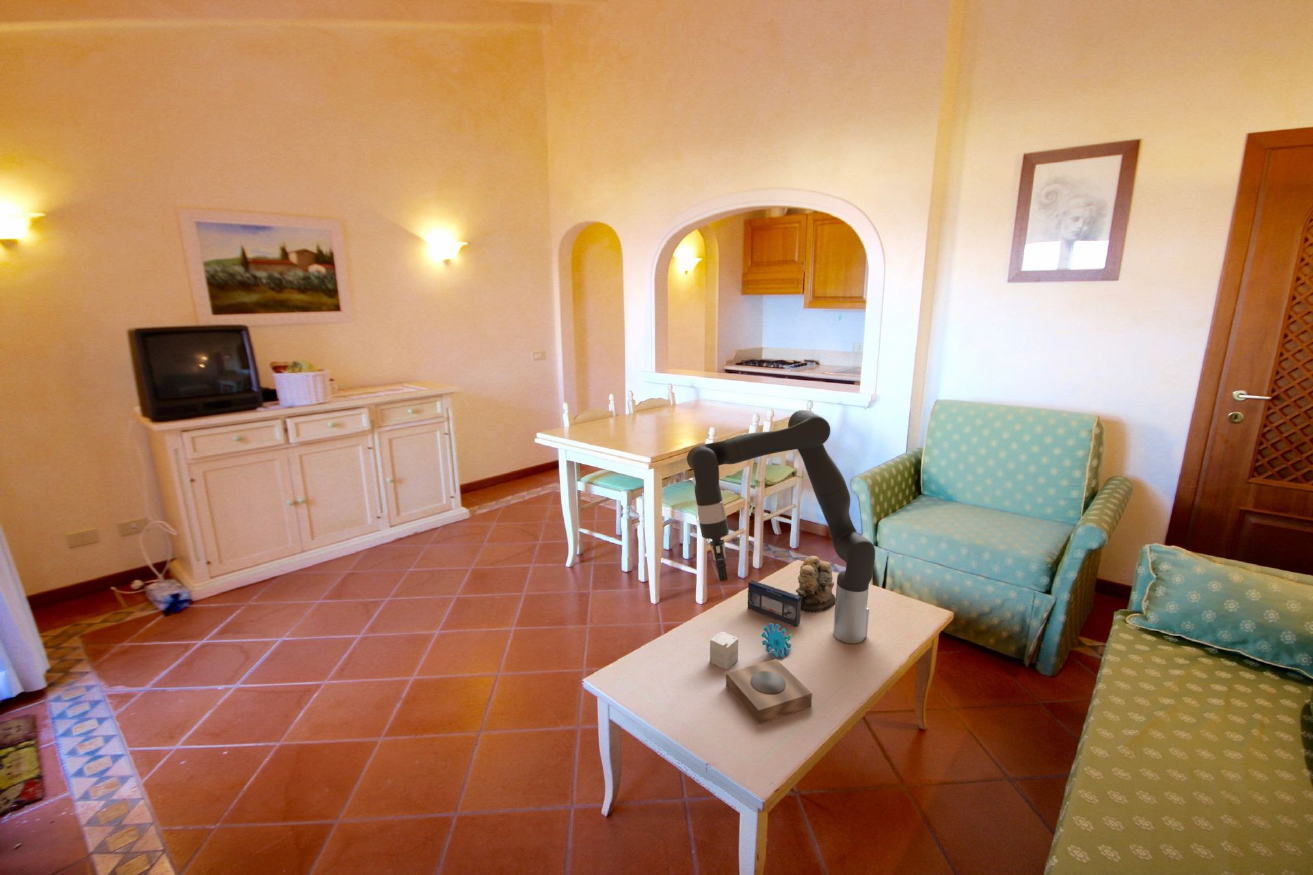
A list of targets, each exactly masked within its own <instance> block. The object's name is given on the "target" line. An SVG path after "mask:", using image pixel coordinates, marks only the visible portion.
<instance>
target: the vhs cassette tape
mask: <svg viewBox="0 0 1313 875" xmlns="http://www.w3.org/2000/svg"><path fill="white" fill-rule="evenodd" d="M747 588H748V589H747V610H750V611H752V612H755V613H757V614H760V615H763V616H766V617H768V618H771V619H773V620H775V621H779V622H781V623H784V624H786V625H789V626H792V627H795V628H797V627H798V626H799V625H800V624H801V611H802V610H801V603H800V602H801V596H797V595H798V594H795V593H792V592H788V591H786V590H783V589H780V588H775V587H773V586H770V585H767V584H765V583H762V582H758V581H756V580H752V579H751V580H749V581H748V583H747Z"/></svg>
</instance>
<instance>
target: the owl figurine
mask: <svg viewBox="0 0 1313 875" xmlns="http://www.w3.org/2000/svg"><path fill="white" fill-rule="evenodd" d="M820 561H821V560H820V558H819V557H818V556H816V555H810V556H807V557H806V558H805V559H804V561H803V562H802V563H801V565H800V569H799V575H798V576H797V580H798V584H799V587H798V588H797V589H795V592H796V593H797V594H796V595H797V596H801V602H800V603H801V611H803V612H805V613H818V612H821V611H822V612H823V611H827V610H829V609H831V608H832V607H833V606H834V605H835V601H836V595H835V594H834V593H833V589H834V588H833V587H834V586H835V582H834V581H833V570H832V565H831V564H830V562H828V561H821V562H820Z"/></svg>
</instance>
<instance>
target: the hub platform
mask: <svg viewBox="0 0 1313 875" xmlns="http://www.w3.org/2000/svg"><path fill="white" fill-rule="evenodd" d="M725 679H726V680H725V686H726V688H727V690H729V691H730V693H731V694H732V695H733V696H734V697H735V699H736V700H737V701H738V702H739V703H740V704H741V706H742V707H743V708H744V709H745V711H746V712H747V713H748V714H749V715H750V717H752V719H753V720H754V721H755V723H756V724H758V725H760V724H763V723H766V722H769V721H772V720H776V719H778V718H782V717H784V716H788V715H790V714H793V713H797V712H800V711H803V710H806V709H808V708H811V707H812V700H813V692H811V690H809V689H808V688H807V687H806V686H805V684H803V683H802V682H801V681H800V680H799V679H798V678H797V677H796V676H795V675H794V674H793V673H792V672H791V671H790V670H789V669H787V667H785V666H784V664H782V662H780V661H779V660H778V659H777V658H774V659H770V660H768V661H763V662H760V663H757V664H753V665H750V666H746V667H742V668H739V669H735V670H732V671H729V672H726V674H725Z"/></svg>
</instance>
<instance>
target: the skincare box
mask: <svg viewBox="0 0 1313 875" xmlns="http://www.w3.org/2000/svg"><path fill="white" fill-rule="evenodd" d="M709 642H710V643H709V662H710V664H711V663H712V664H714V665H715V666H718V667H720V668H723V669H724V670H729V669H730V667H732V666H733V665H734V664H735V663H736V662H737V661H739V638H738V637H736V636H733V635H731V634H730V633H727V632H724V631H722V630H721V631H720V632H718V633H717V634H716V635H715V636H714V637H712V638H711V639H710V641H709Z"/></svg>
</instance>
